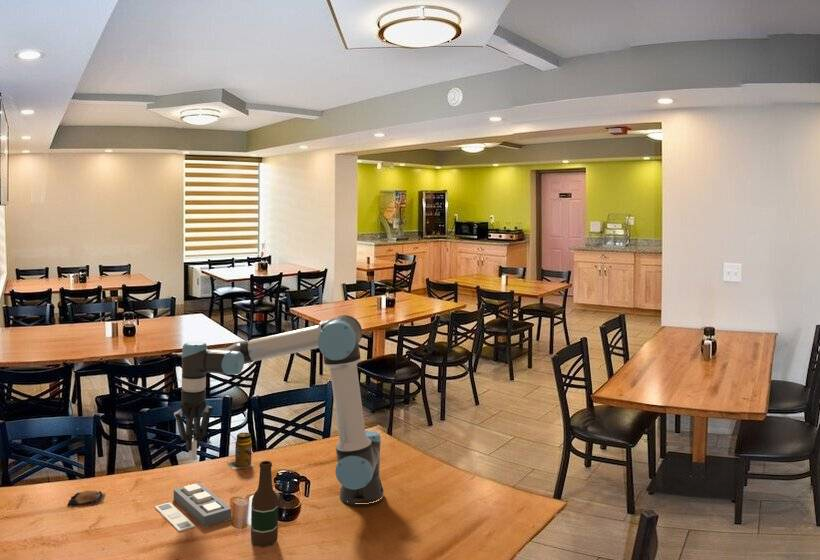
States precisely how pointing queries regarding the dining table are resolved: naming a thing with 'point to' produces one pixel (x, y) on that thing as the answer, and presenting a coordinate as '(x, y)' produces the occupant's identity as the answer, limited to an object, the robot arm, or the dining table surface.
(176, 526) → the pattern card
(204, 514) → the console
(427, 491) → the dining table surface
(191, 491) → the button
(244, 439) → the condiment
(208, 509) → the button
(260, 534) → the beer bottle
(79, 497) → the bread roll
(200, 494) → the middle button
